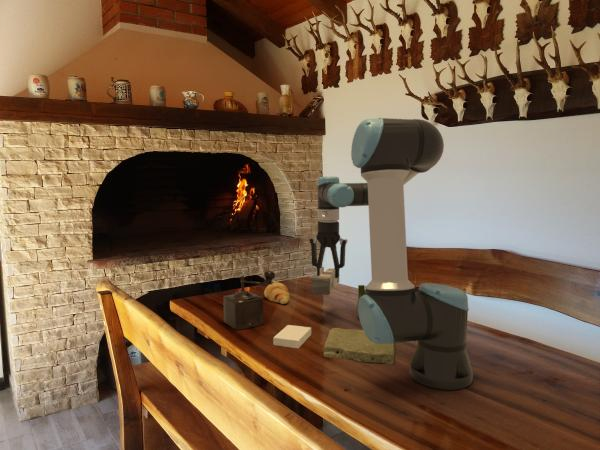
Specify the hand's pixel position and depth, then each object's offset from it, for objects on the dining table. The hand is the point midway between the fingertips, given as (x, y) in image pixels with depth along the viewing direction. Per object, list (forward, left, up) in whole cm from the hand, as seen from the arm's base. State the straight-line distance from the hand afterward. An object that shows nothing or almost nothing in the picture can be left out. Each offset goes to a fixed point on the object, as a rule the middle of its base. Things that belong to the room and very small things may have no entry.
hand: (328, 286), depth 161 cm
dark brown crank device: (-15, +23, -11) cm, 30 cm away
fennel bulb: (+1, -13, -11) cm, 17 cm away
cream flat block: (-20, +4, -10) cm, 22 cm away
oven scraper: (0, 0, 0) cm, 0 cm away
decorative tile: (-26, -17, -12) cm, 33 cm away
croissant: (+14, +26, -11) cm, 32 cm away
